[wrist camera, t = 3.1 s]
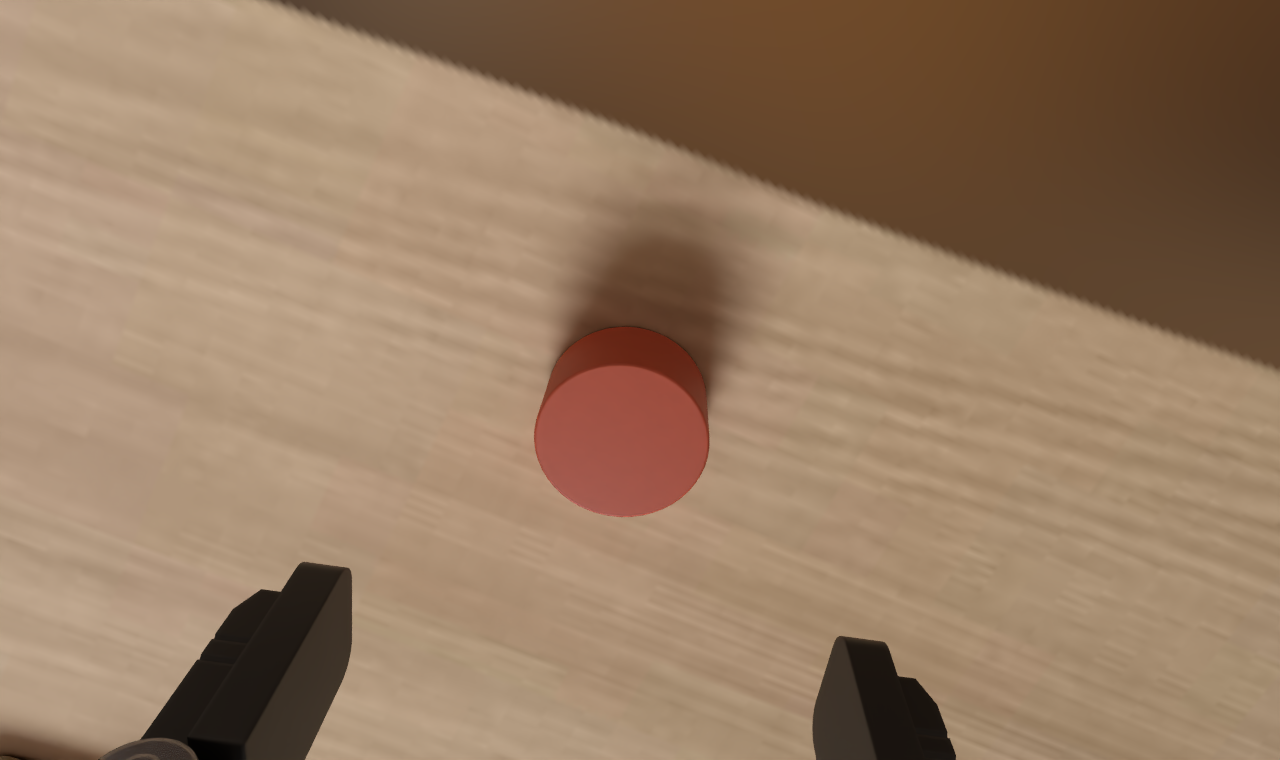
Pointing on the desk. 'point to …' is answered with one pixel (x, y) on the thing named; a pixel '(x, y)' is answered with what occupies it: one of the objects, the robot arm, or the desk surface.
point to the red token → (623, 423)
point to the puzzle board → (7, 758)
